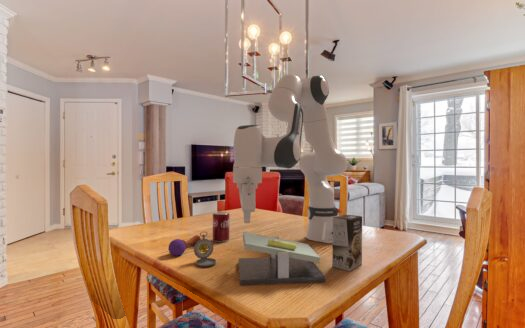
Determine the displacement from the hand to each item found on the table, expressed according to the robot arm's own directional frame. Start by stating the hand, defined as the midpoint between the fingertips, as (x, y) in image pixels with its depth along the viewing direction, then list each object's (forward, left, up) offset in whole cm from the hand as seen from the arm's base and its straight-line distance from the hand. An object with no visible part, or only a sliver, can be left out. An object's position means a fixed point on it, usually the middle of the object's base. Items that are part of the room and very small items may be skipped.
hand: (246, 222), depth 86 cm
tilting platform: (-10, 0, -8) cm, 13 cm away
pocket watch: (+13, -10, -16) cm, 23 cm away
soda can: (+9, -38, -16) cm, 42 cm away
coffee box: (-33, -3, -16) cm, 37 cm away
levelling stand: (-10, 0, -15) cm, 18 cm away
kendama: (+22, -26, -16) cm, 38 cm away
